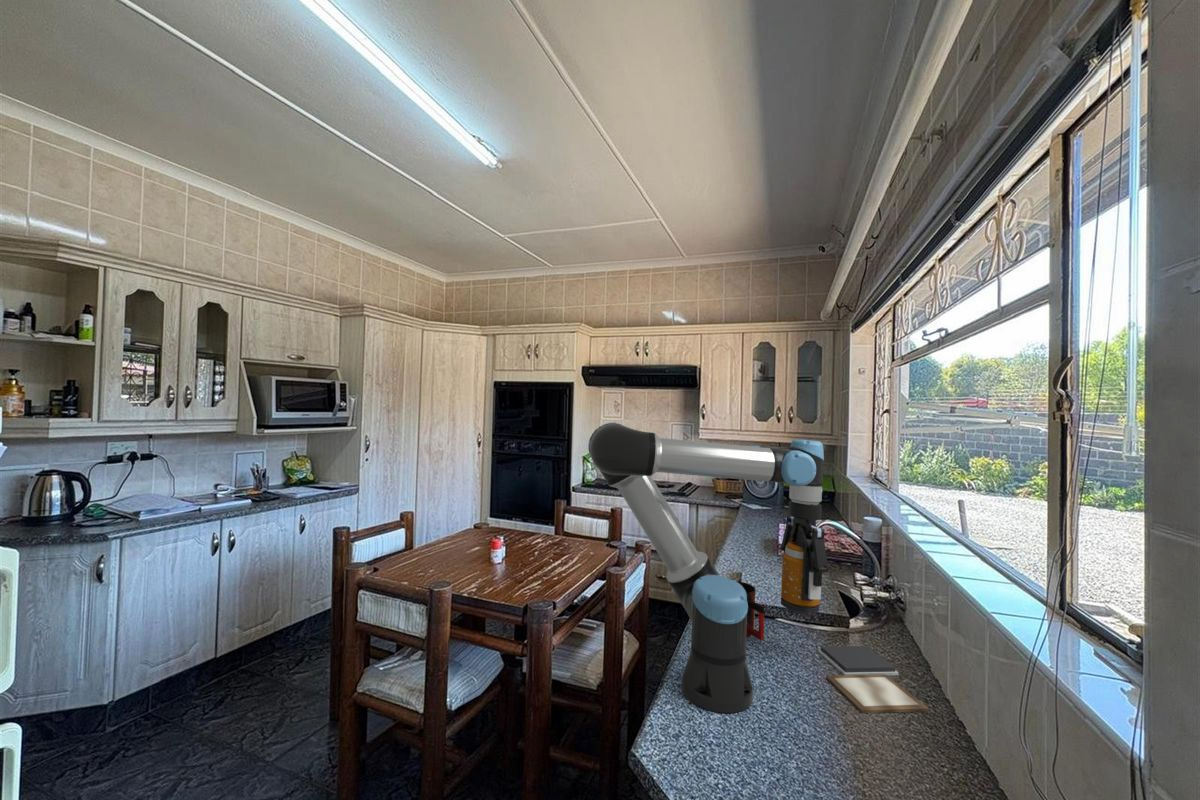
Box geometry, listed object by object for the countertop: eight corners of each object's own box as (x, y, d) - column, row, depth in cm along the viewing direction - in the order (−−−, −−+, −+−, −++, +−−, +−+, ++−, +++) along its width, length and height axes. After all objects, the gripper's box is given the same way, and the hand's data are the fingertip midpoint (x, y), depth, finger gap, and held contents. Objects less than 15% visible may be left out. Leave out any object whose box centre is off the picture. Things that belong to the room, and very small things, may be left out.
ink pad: (845, 676, 113) (845, 669, 113) (817, 651, 125) (818, 645, 125) (898, 675, 114) (898, 668, 114) (866, 651, 126) (867, 644, 126)
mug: (762, 645, 127) (763, 600, 127) (713, 629, 135) (714, 587, 136) (773, 633, 135) (775, 590, 135) (726, 619, 143) (728, 578, 143)
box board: (862, 713, 99) (862, 709, 99) (826, 678, 112) (826, 675, 112) (929, 711, 100) (929, 708, 100) (885, 677, 113) (885, 674, 113)
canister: (812, 603, 124) (815, 526, 125) (828, 621, 113) (831, 536, 114) (776, 600, 125) (779, 523, 126) (789, 617, 114) (792, 533, 115)
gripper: (848, 511, 109) (844, 609, 108) (795, 494, 132) (792, 574, 132) (816, 510, 108) (812, 608, 108) (769, 493, 131) (766, 573, 131)
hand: (801, 589), depth 120 cm, fingers closed on canister, 11 cm apart
